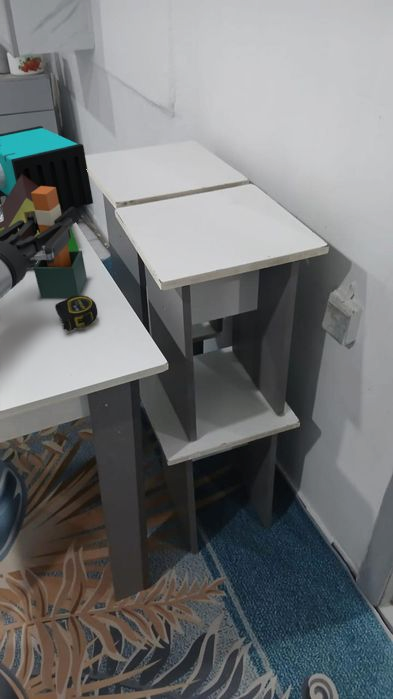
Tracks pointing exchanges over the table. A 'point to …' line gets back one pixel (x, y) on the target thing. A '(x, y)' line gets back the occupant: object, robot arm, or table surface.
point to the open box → (61, 278)
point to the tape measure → (76, 312)
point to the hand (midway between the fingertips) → (65, 212)
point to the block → (49, 218)
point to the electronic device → (45, 165)
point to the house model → (24, 207)
